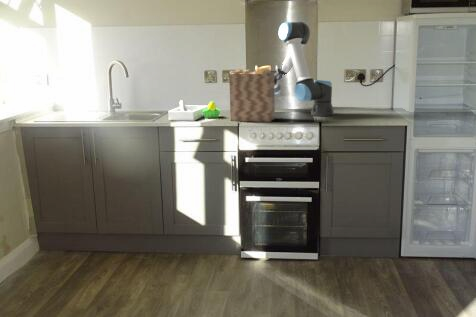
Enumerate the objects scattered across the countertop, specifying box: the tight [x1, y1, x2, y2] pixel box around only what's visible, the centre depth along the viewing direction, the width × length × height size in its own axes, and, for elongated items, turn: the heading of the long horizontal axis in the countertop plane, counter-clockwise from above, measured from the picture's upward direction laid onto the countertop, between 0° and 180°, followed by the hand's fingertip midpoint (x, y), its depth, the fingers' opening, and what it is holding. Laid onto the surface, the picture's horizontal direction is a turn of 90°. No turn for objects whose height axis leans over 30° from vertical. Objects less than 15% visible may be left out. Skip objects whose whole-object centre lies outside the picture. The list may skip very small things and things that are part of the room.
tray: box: [167, 104, 208, 122], centre depth 346 cm, size 17×28×6 cm, turn 164°
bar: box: [257, 65, 272, 74], centre depth 325 cm, size 4×24×4 cm, turn 164°
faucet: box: [179, 99, 190, 111], centre depth 348 cm, size 14×11×20 cm
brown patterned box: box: [228, 69, 276, 123], centre depth 327 cm, size 26×14×32 cm, turn 74°
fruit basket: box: [202, 100, 221, 119], centre depth 342 cm, size 11×9×11 cm
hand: (266, 67), depth 332 cm, fingers open, 13 cm apart
